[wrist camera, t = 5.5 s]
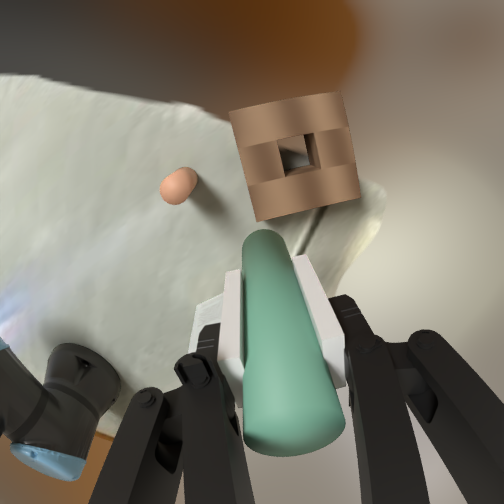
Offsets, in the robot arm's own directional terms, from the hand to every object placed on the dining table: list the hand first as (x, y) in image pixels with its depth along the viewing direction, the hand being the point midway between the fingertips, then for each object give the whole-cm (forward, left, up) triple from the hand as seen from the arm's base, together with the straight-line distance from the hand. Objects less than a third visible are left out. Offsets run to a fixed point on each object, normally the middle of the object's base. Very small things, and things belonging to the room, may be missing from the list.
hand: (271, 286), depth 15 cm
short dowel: (-7, +5, -22) cm, 23 cm away
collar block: (+6, +5, -22) cm, 23 cm away
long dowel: (0, 0, -5) cm, 5 cm away
